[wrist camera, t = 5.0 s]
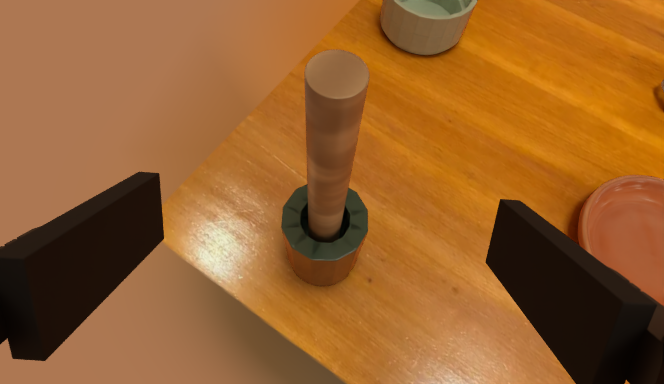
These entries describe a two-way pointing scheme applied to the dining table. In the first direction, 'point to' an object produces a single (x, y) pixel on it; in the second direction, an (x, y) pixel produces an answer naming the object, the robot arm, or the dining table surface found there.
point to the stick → (331, 135)
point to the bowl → (425, 23)
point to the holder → (319, 257)
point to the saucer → (628, 230)
